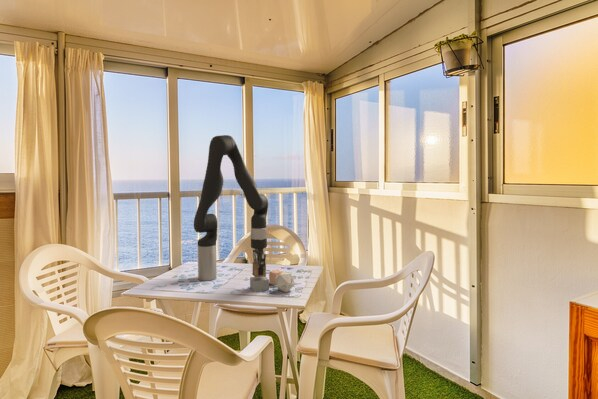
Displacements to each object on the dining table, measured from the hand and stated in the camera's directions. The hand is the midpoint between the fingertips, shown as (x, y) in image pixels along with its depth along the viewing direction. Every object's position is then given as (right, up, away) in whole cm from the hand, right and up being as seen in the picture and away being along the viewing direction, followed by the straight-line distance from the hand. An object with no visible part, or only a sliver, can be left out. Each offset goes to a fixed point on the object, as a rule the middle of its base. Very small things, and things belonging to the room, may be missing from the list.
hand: (259, 273), depth 171 cm
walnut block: (0, -1, 0) cm, 1 cm away
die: (+12, -8, -2) cm, 14 cm away
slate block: (0, -7, +1) cm, 7 cm away
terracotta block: (+7, -7, +9) cm, 13 cm away
